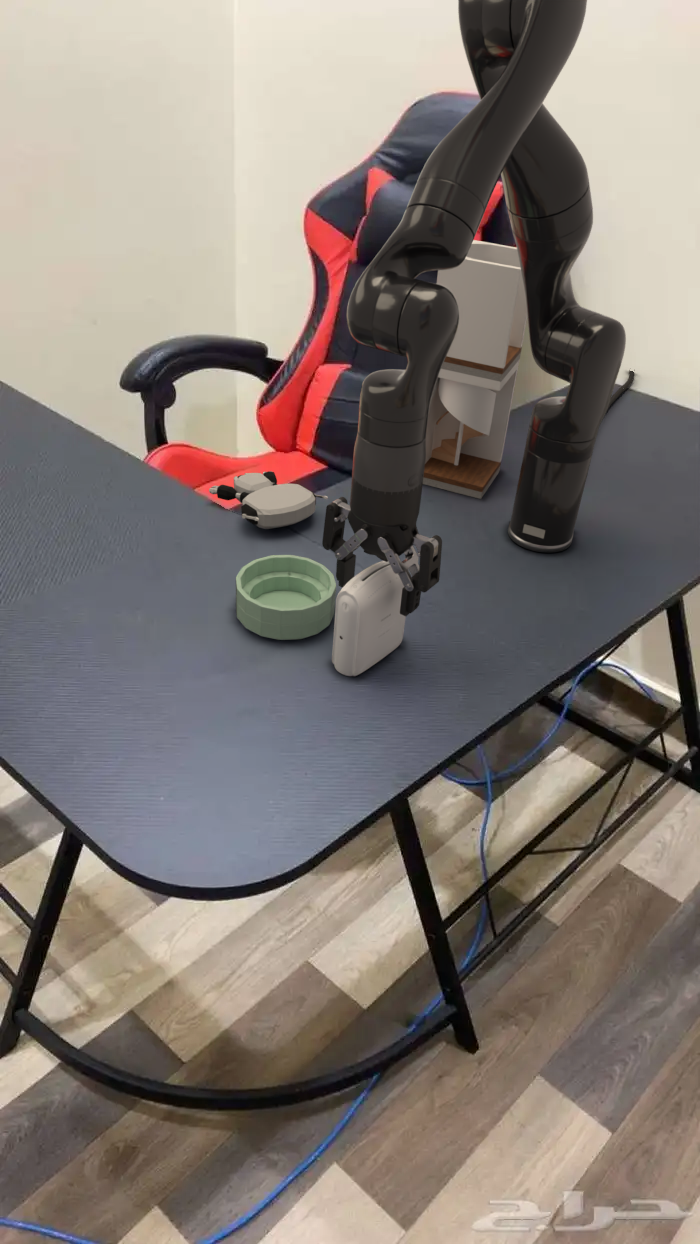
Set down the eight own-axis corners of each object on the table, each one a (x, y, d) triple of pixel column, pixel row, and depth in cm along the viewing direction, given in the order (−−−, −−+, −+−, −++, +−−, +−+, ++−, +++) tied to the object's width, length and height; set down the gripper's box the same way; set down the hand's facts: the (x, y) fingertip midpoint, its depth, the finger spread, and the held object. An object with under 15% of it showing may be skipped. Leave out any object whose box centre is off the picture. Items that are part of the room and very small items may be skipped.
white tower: (412, 481, 151) (440, 254, 131) (434, 455, 159) (463, 238, 139) (480, 498, 148) (520, 269, 127) (499, 471, 156) (539, 251, 136)
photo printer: (353, 682, 110) (361, 595, 102) (325, 666, 112) (332, 579, 105) (407, 644, 116) (418, 559, 109) (380, 629, 119) (389, 545, 111)
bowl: (278, 576, 127) (279, 544, 124) (352, 611, 121) (355, 579, 118) (215, 616, 118) (215, 583, 115) (292, 656, 113) (293, 622, 110)
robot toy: (204, 506, 142) (260, 545, 132) (202, 478, 139) (259, 516, 129) (272, 486, 148) (330, 522, 138) (271, 459, 146) (331, 494, 136)
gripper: (464, 481, 99) (445, 607, 109) (353, 439, 105) (345, 562, 115) (426, 508, 94) (410, 637, 104) (312, 462, 100) (307, 589, 110)
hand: (375, 598), depth 109 cm, fingers open, 8 cm apart
